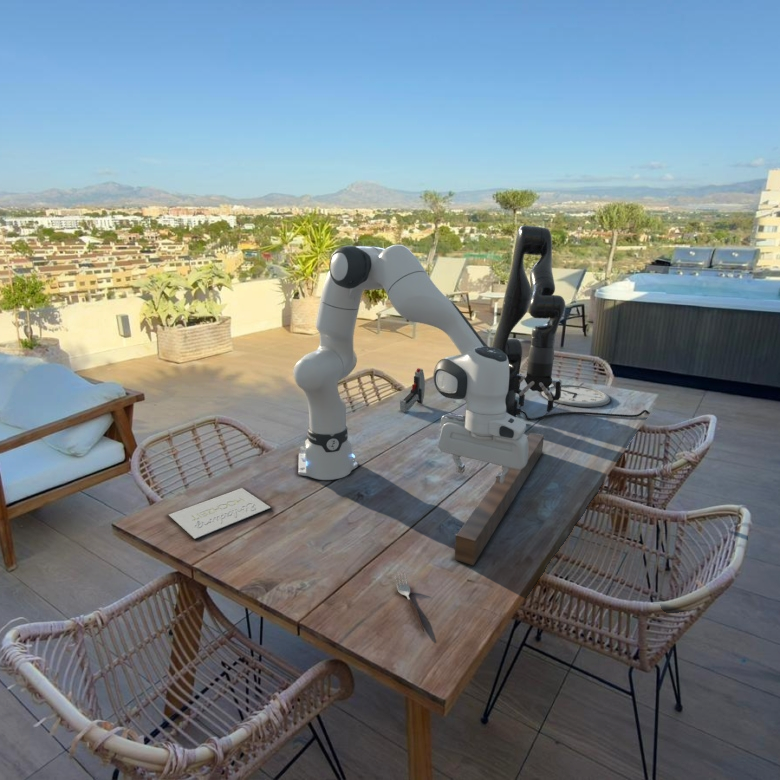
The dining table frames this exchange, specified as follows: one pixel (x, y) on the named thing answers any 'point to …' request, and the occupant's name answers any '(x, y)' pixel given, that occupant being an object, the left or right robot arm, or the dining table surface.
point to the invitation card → (218, 512)
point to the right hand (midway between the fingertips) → (535, 408)
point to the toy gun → (414, 392)
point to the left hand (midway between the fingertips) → (479, 476)
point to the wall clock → (580, 396)
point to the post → (494, 507)
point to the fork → (406, 591)
